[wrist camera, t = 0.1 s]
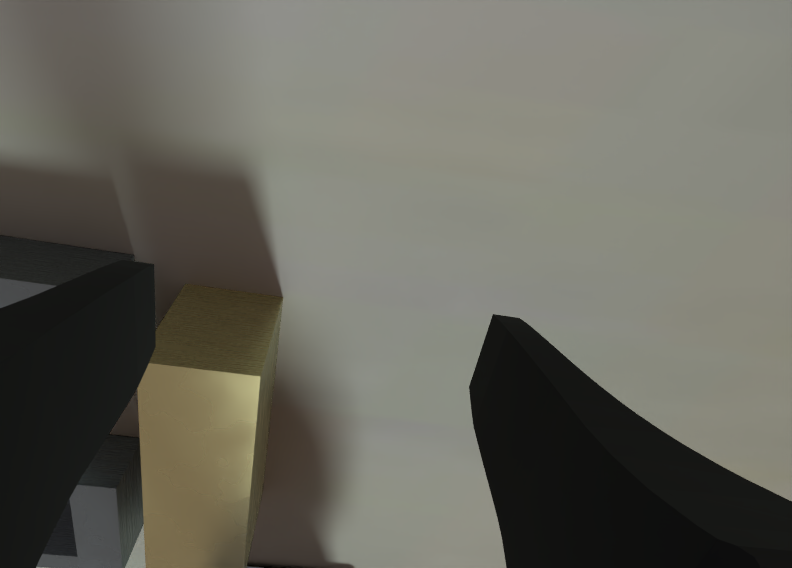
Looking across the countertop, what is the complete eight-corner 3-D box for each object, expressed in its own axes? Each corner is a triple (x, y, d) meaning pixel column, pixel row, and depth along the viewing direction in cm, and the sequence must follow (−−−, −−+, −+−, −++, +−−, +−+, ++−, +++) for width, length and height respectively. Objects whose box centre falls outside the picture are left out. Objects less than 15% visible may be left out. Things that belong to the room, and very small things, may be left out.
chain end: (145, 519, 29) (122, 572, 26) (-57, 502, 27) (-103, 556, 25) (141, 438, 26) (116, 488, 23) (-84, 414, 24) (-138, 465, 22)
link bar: (263, 488, 28) (241, 591, 23) (185, 481, 28) (146, 584, 23) (283, 295, 23) (260, 376, 18) (186, 281, 22) (136, 361, 17)
